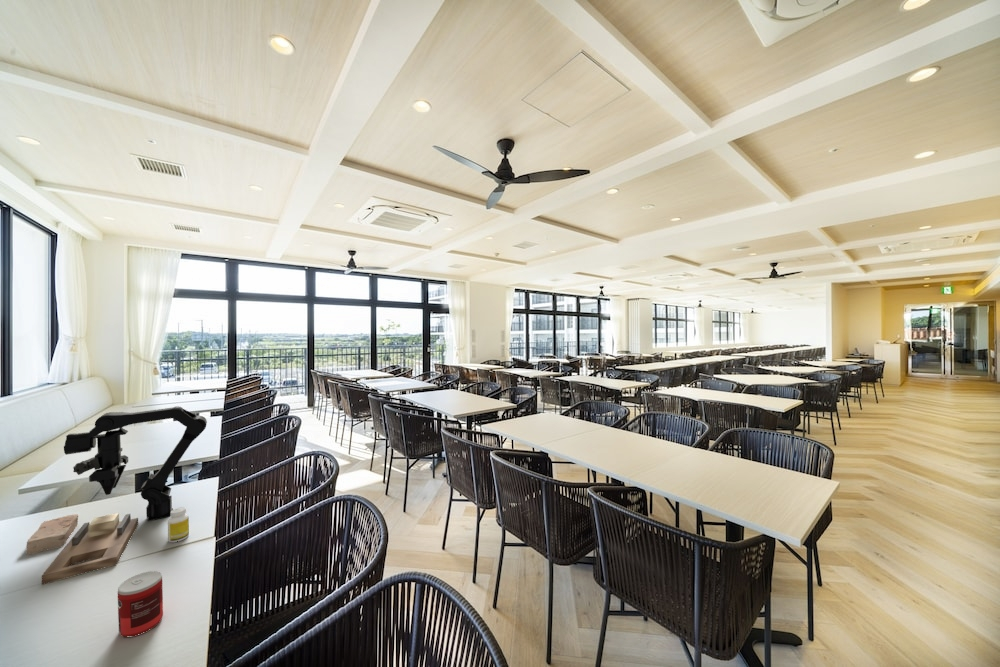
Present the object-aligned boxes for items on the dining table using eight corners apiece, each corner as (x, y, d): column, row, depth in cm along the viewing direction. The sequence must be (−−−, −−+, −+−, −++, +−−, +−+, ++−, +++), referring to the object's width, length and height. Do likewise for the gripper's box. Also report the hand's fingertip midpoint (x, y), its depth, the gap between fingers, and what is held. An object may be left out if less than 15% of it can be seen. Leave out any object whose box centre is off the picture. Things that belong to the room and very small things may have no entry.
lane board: (138, 524, 136) (137, 510, 135) (116, 564, 113) (116, 548, 113) (78, 538, 127) (77, 523, 127) (41, 584, 104) (41, 567, 104)
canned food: (138, 614, 94) (136, 571, 93) (171, 612, 94) (170, 569, 94) (108, 640, 86) (107, 593, 86) (145, 637, 87) (144, 591, 86)
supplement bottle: (192, 536, 128) (191, 508, 128) (173, 544, 123) (172, 515, 123) (183, 532, 130) (183, 504, 130) (164, 540, 125) (163, 512, 125)
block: (119, 523, 131) (118, 512, 131) (114, 531, 126) (113, 520, 126) (94, 529, 128) (94, 517, 128) (88, 537, 123) (88, 525, 123)
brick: (64, 546, 123) (64, 532, 122) (24, 556, 117) (24, 541, 117) (79, 525, 136) (78, 513, 136) (43, 533, 131) (43, 520, 130)
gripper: (85, 445, 136) (87, 487, 137) (65, 461, 121) (67, 508, 122) (128, 440, 143) (129, 480, 143) (113, 454, 127) (115, 498, 128)
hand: (110, 491), depth 134 cm, fingers open, 6 cm apart
